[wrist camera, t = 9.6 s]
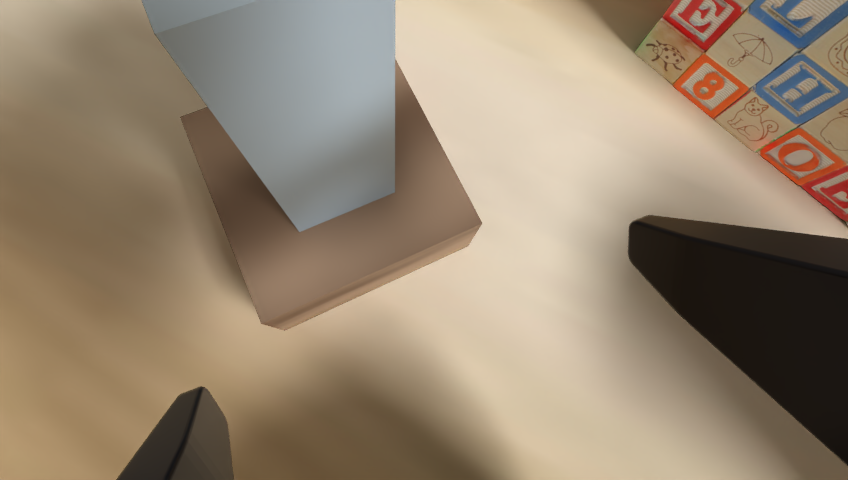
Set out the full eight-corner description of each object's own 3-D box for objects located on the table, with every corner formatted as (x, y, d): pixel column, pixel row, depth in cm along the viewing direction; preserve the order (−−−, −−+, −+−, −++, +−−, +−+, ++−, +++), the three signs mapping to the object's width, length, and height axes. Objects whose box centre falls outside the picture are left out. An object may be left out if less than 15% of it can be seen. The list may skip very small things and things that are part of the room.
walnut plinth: (467, 245, 24) (482, 223, 20) (284, 330, 22) (261, 323, 18) (387, 89, 26) (386, 42, 22) (214, 156, 24) (180, 116, 20)
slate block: (394, 192, 20) (395, -44, 8) (299, 232, 19) (154, 33, 8) (355, 109, 21) (305, -207, 9) (262, 144, 20) (83, -151, 9)
